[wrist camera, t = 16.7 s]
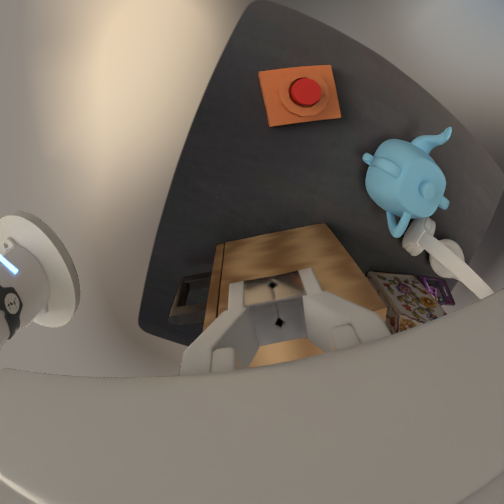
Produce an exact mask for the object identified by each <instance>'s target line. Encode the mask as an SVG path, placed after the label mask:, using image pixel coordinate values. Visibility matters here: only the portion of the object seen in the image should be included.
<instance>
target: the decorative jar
mask: <svg viewBox="0 0 504 504" xmlns="http://www.w3.org/2000/svg"><path fill="white" fill-rule="evenodd" d="M366 278H367V279H368V281H369V282H370V284H371V285H372V287H373V288H374V289H375V291H376V292H377V294H378V295H379V297H380V298H381V299H382V301H383V302H384V304H385V305H386V307H387V312H386V320H385V325H386V326H387V328H388V330H389V331H390V333H391V335H392V334H395V333H398V332H401V331H404V330H407V329H410V328H413V327H416V326H419V325H421V324H424V323H427V322H429V321H432V320H435V319H437V318H440V317H442V316H445V315H447V313H445V311H444V310H443V308H442V307H441V306H440V305H439V303H438V302H437V301H436V300H435V299H434V297H433V296H432V295H431V294H430V293H429V292H428V290H427V289H426V288H425V287H424V286H423V285H422V284H421V283H420V282H419V281H418V280H417V279H416V278H415V277H414V276H413V275H403V274H393V273H382V272H372V271H370V272H368V274H367V277H366Z"/></svg>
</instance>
